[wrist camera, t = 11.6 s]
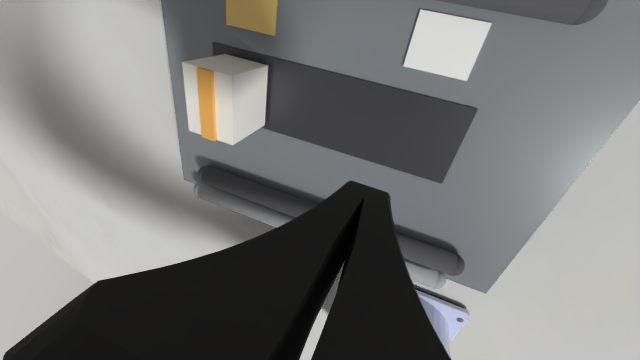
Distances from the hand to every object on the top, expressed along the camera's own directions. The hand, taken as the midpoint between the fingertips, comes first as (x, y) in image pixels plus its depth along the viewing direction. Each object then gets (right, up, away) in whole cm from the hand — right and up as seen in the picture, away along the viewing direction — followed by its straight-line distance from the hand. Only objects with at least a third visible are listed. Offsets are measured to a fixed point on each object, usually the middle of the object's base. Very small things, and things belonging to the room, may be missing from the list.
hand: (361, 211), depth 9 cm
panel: (+1, +6, +9) cm, 10 cm away
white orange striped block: (-6, +6, +8) cm, 12 cm away
